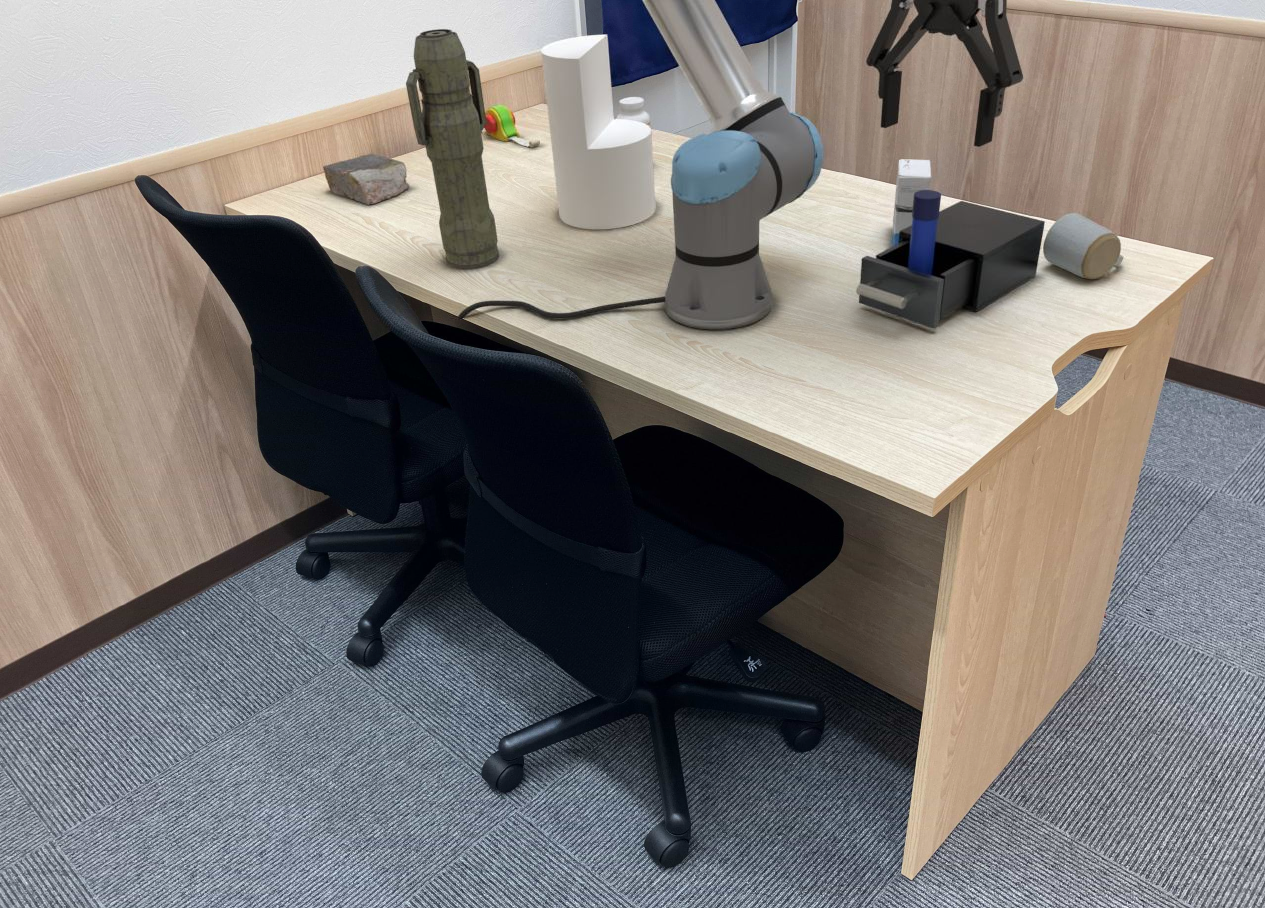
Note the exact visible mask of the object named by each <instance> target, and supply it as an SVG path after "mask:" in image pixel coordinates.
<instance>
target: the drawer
mask: <svg viewBox="0 0 1265 908" xmlns="http://www.w3.org/2000/svg"><path fill="white" fill-rule="evenodd" d="M910 240H911V239H907V240H905V241H903V242H901V243H899V244H897V245H895V246H893V245H892V247H888V248H887V249H886V250H883V251H881V252H880V253H877V254H876V255H875V257H873V256H869V255H866V256H864V257H861V266H860V277H859V278H860V279H859V284H858V286H857V288H856V294H857V295H859V296H858V303H859V304H861V305H864V306H866V307H870V308H873V309H876V310H878V311H881V312H884V313H887V314H890V315H893V316H895V317H899V318H901V319H904V320H906V321H910V322H913V323H916V324H918V325H922V326H924V327H927V328H930V329H934V330H935V329H936V328H938V327H939V325H940V320H942V319H944V318H945V317H947V316H949V315H951V314H952V313H954V312H956V311H957V310H959V309H962V308H961V307H963V306H964V305H966V304H968V303H969V302H971V301H973V298H974V290H975V283H976V276H977V268H978V261H979V258H976V257H972V256H969V255H965V254H962V253H958V252H955V251H951V250H948V249H944V248H941V247H937V246H935V248H934V258H933V267H932V275H928V274H925V273H922V272H919V271H915V270H912V269H909V268H908V261H909V250H910Z"/></svg>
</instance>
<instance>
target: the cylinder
mask: <svg viewBox="0 0 1265 908" xmlns="http://www.w3.org/2000/svg"><path fill="white" fill-rule="evenodd" d="M608 38H609V37H608V34H590V35H582V36H575V37H569V38H564V39H561V40H556V41H553V42H550V43H548V44H546V45H545V46H542V48H540V54H541V62H542V63H541V64H542V72H543V80H544V90H545V98H546V106H547V116H548V125H549V127H548V128H549V135H550V144H551V152H552V160H553V171H554V180H555V188H556V197H557V204H558V205H557V206H558V216H559V219H560V220H561V221H562V222H563V223H564V224H566V225H569V226H571V227H572V228H573V227H574V228H578V229H583V230H595V231H596V230H613V229H621V228H625V227H630V226H634V225H636V224H639V223H642V222H644V221H646V220H647V219H650V218H651V217H652V216H654V214H655V212H656V205H657V204H656V190H655V189H656V188H655V170H654V152H653V151H654V150H653V136H652V135H653V134H652V129H651V126H650V127H649V126H648V125H646V124H644V123H641V122H638V121H633V120H626V119H616V118H615V117H614V104H613V103H614V102H613V90H612V77H611V66H610V65H611V64H610V53H609V52H610V51H609V39H608Z"/></svg>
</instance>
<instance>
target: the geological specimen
mask: <svg viewBox="0 0 1265 908" xmlns="http://www.w3.org/2000/svg"><path fill="white" fill-rule="evenodd" d="M322 169H323V172H324V176H325V177H324V178H325V180H326V182H327V186H328V188H329V190H330V193H331V194H335V195H338V196H341V197H344V198H347V199H351V200H355V201H356V202H359V203H362V204H365V205H366V206H370V205H374V204H378V203H380V202H382V201H384V200H389V199H391V198H393V197H396V196H399V194H401V193H402V192H404V191H407V189H410V184H409V183H408V182H407V179H406V178H407V166H406V164H405V162H404V161H400V160H397V159H393V158H389V157H386V156H383V155H378V154H375V153H368V154H363V155H360V156H357V157H353V158H349V159H347V160H346V159H345V160H341V161H338V162H334V163H331V164H330V163H329V164H327V165H323V166H322Z"/></svg>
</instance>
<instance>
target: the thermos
mask: <svg viewBox="0 0 1265 908" xmlns="http://www.w3.org/2000/svg"><path fill="white" fill-rule="evenodd" d="M413 60H414V69H412V71H410V72H409V73H408V76H407V79H406V82H405V85H406V91H407V97H408V103H409V109H410V113H411V119H412V125H413V130H414V134H415V137H416V141H417V144H418V145H420V146H425V151H426V156H427V158H428V160H429V161H430V162H431V167H432V168H431V169H432V172H433V178H434V184H435V189H436V196H437V201H438V205H439V206H438V207H439V213H440V214H439V221H438V226H439V231H440V237H441V243H442V248H443V250H444V252H445V259H446V265H448V266H449V267H451V268H454V269H458V270H474V269H480V268H483V267H488V266H489V265H491V264H494V263H495V262H496V261H497V260H498V259H499V257H500V251H499V249H498V242H499V240H498V239H499V238H498V233H497V226H496V220H495V215H494V213H493V211H492V209H491V208H490V203H489V195H488V189H487V182H486V176H485V175H486V174H485V170H484V163H483V153H484V141H483V130H485V128H484V127H485V125H486V123H487V121H486V115H485V113H486V110H485V109H486V108H485V103H484V95H483V87H482V82H481V75H480V69H479V67H477V65H476V64H475V63H474V62H473V61H471V60H468V59H467V55H466V51H465V47H464V46H463V44H462V41H461V39H460V37H459V35H458V32H457V31H452V29H447V28H437V29H430V30H426V31H422V32H420V33H419V35H417V36H415V40H414V48H413ZM419 93H421V98H422V99H421V100H420V96H419ZM420 101H421V102H420Z"/></svg>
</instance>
